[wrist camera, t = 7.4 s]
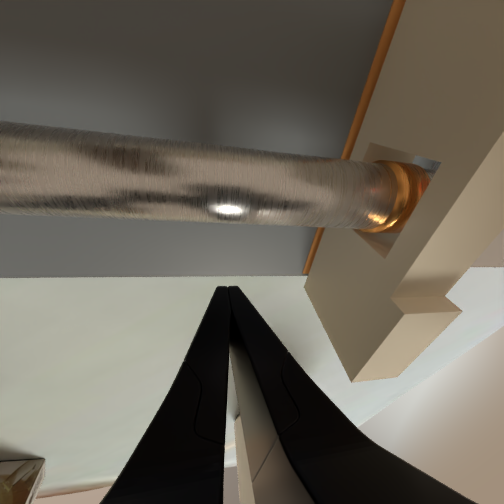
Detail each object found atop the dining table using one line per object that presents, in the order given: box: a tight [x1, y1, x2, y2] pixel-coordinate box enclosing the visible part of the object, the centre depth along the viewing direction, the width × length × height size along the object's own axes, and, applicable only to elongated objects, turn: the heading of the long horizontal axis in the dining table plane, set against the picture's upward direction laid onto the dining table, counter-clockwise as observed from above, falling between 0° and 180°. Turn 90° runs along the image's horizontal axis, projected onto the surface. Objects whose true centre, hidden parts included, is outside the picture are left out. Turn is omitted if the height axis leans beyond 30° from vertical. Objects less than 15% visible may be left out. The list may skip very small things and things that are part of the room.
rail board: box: [0, 0, 435, 278], centre depth 8 cm, size 22×11×1 cm, turn 82°
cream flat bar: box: [304, 0, 504, 383], centre depth 7 cm, size 2×12×5 cm, turn 172°
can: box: [234, 414, 255, 504], centre depth 21 cm, size 6×6×12 cm
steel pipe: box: [0, 120, 504, 267], centre depth 7 cm, size 22×4×4 cm, turn 82°
